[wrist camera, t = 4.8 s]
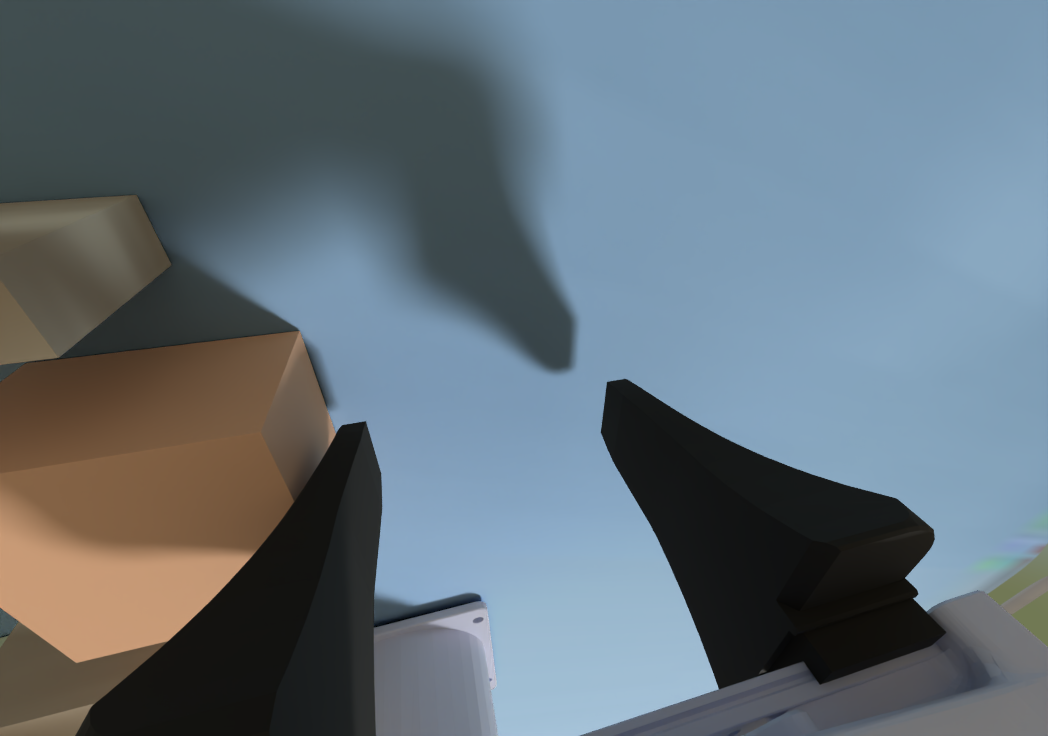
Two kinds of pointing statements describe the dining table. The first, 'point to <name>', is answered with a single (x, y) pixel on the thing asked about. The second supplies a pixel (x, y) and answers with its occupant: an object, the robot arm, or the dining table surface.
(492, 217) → the dining table surface
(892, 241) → the dining table surface
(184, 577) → the terracotta block
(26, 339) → the channel walls
